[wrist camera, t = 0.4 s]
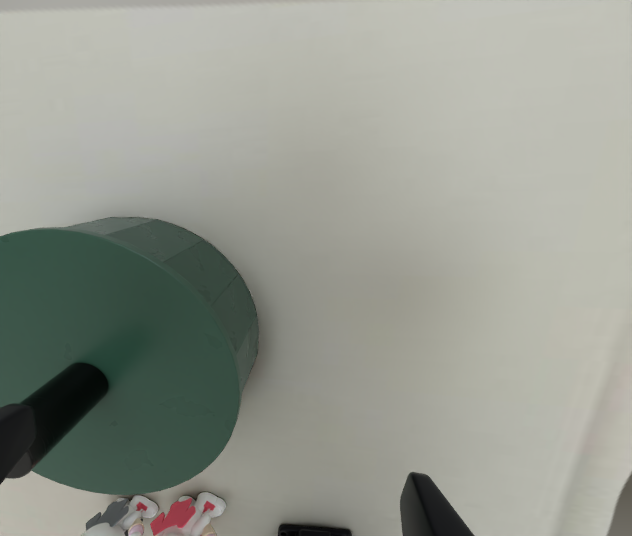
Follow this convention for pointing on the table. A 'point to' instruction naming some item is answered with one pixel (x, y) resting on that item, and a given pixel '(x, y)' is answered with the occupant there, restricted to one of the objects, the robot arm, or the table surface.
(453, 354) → the table surface
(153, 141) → the table surface
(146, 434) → the lid
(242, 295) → the pot
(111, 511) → the toy figures
